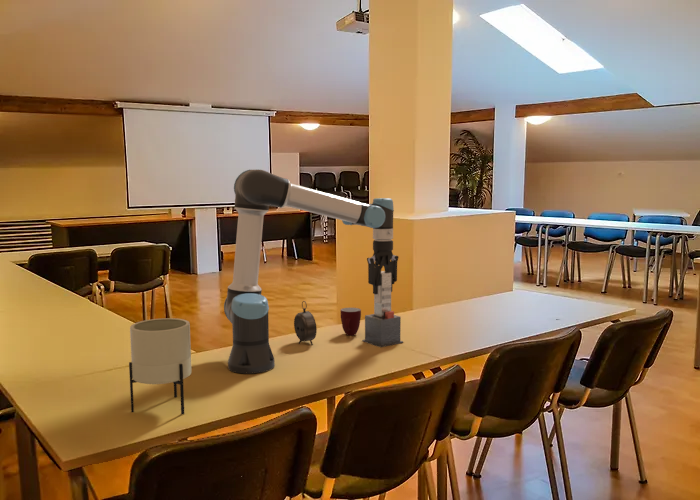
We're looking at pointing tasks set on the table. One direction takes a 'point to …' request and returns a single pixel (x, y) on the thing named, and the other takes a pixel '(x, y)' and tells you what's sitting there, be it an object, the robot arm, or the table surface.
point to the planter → (160, 353)
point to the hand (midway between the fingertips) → (382, 301)
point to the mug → (350, 320)
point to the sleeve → (382, 330)
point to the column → (383, 295)
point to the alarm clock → (305, 326)
